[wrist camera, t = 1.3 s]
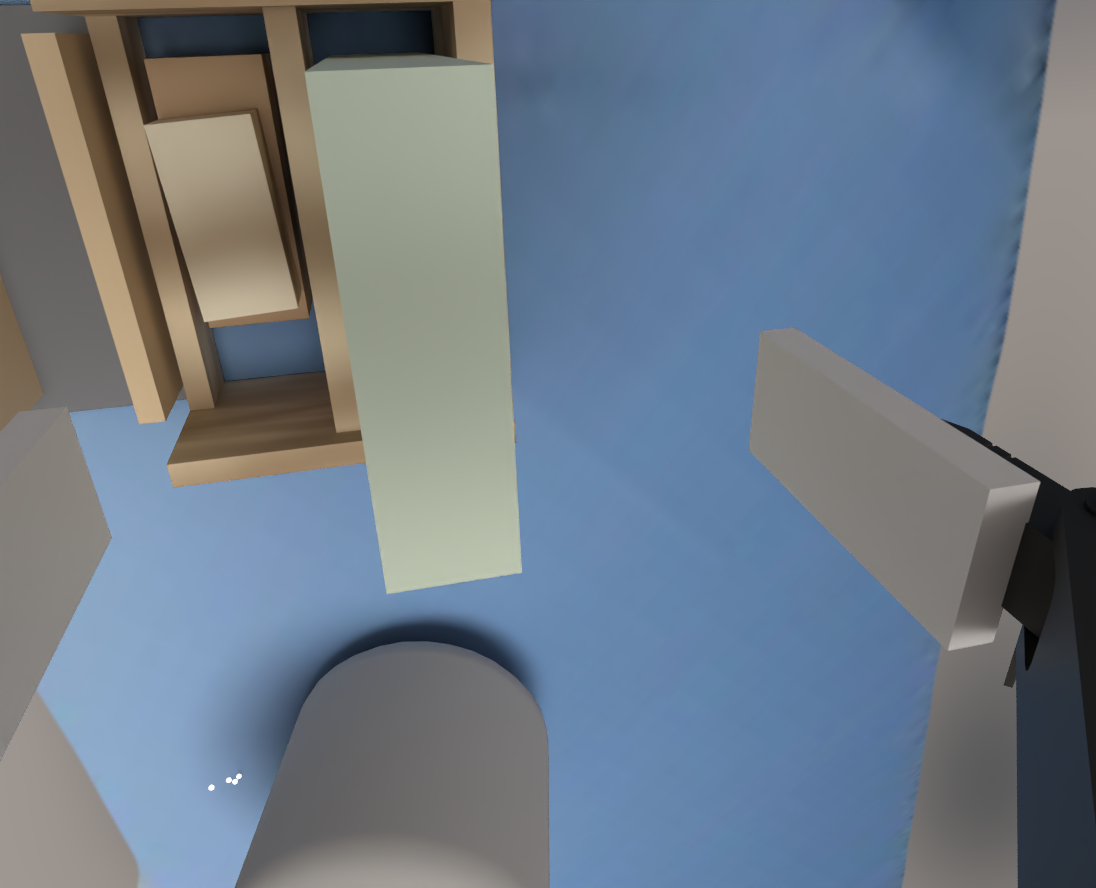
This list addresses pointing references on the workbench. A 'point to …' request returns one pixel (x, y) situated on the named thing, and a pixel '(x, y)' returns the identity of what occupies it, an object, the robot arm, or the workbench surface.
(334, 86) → the pale green block
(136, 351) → the holder
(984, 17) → the workbench surface
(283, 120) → the rack
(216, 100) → the offcut low
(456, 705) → the jar
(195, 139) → the offcut top
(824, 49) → the workbench surface
